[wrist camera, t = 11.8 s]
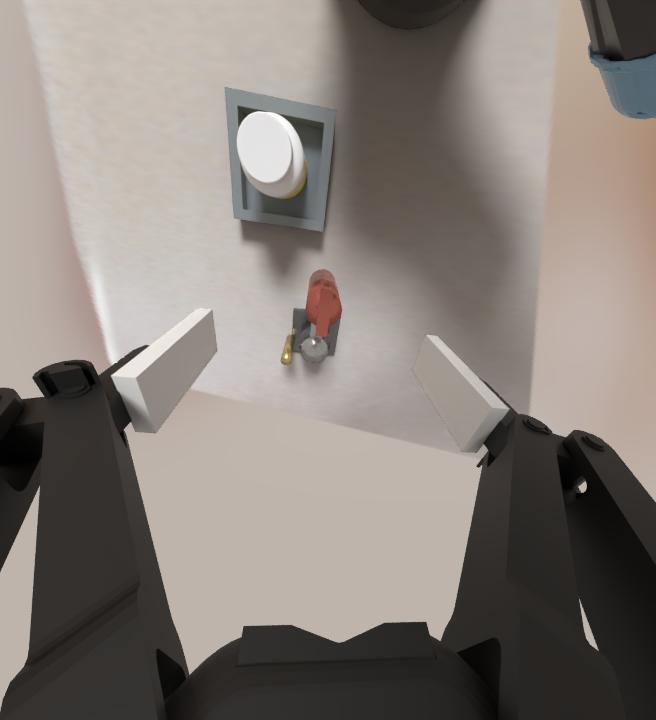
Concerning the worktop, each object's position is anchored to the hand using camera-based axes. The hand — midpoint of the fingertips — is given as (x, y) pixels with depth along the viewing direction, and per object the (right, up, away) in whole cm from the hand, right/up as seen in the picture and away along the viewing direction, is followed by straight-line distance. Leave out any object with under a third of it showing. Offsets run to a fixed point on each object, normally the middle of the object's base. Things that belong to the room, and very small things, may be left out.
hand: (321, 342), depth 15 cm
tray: (-4, +20, +11) cm, 23 cm away
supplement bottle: (-4, +20, +11) cm, 23 cm away
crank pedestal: (-2, +3, +22) cm, 22 cm away
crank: (-1, +5, +16) cm, 16 cm away
